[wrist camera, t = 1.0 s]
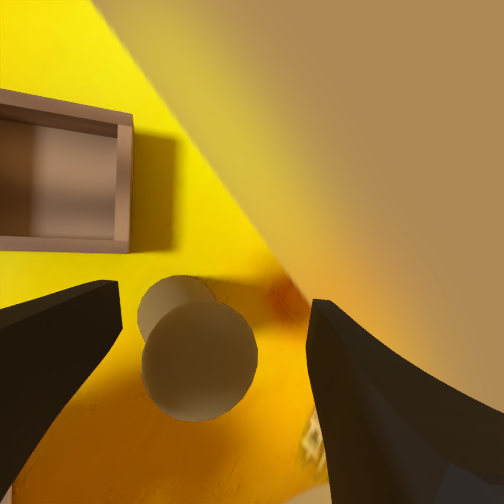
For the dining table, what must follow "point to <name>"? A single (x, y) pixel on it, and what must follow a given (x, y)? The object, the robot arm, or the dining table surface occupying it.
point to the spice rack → (64, 176)
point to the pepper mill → (194, 350)
